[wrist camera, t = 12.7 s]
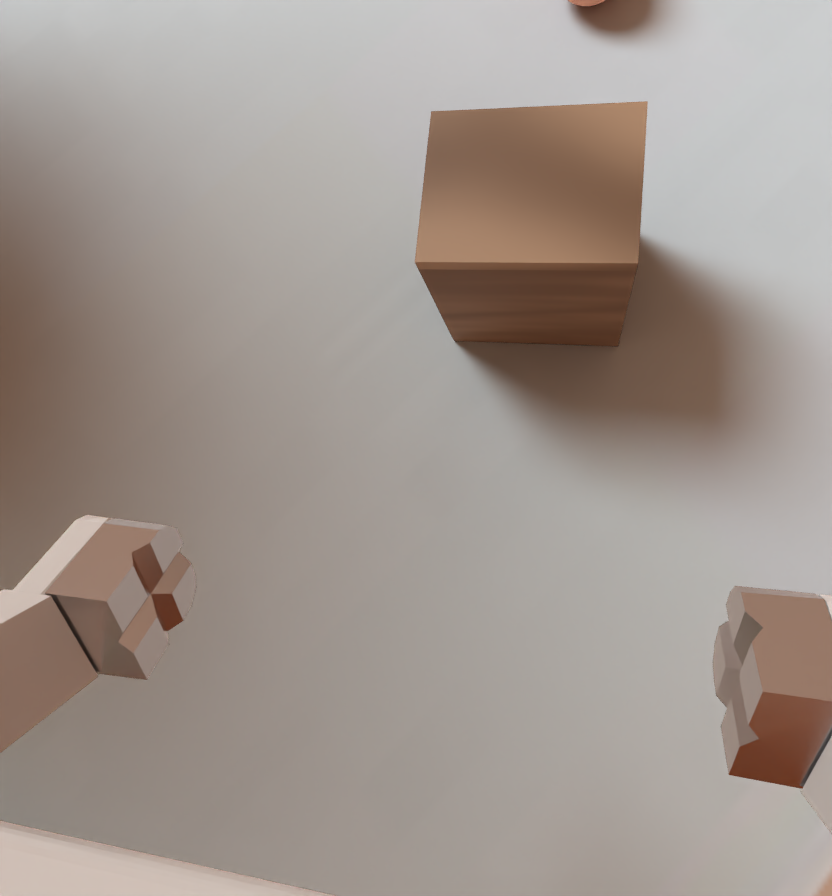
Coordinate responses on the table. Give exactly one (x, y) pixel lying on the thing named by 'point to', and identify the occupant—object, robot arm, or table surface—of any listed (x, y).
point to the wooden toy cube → (533, 221)
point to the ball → (586, 2)
